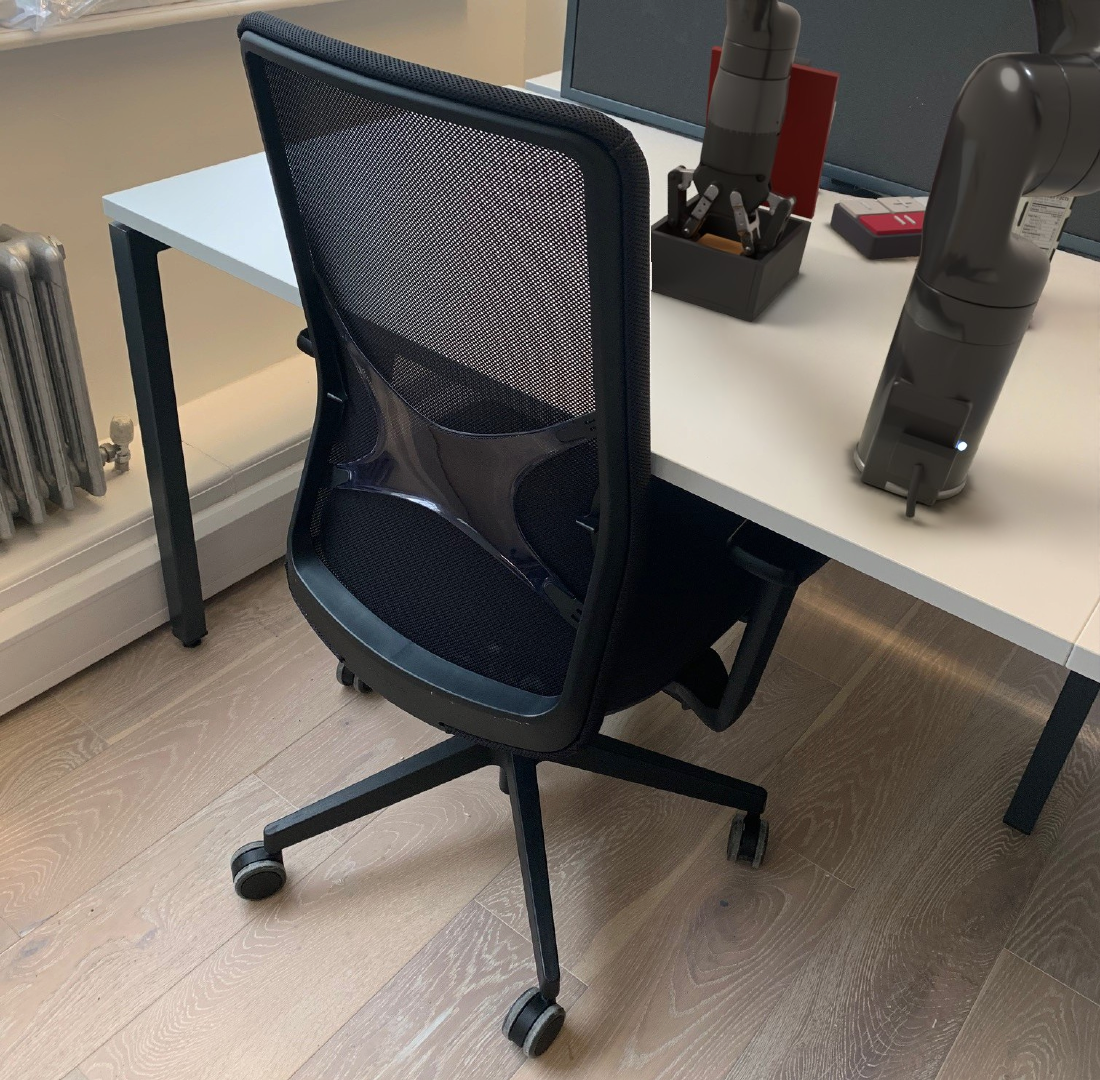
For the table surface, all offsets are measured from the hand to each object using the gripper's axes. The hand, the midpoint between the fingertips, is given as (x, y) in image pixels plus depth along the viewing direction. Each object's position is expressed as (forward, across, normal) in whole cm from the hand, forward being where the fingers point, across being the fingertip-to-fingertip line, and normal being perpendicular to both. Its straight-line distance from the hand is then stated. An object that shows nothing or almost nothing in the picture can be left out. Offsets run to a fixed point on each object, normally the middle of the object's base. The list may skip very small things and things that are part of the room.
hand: (713, 275), depth 115 cm
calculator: (+2, +14, +29) cm, 33 cm away
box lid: (-13, 0, +8) cm, 15 cm away
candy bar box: (+2, +28, +18) cm, 34 cm away
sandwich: (+1, 0, 0) cm, 1 cm away
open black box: (+1, 0, +2) cm, 3 cm away
